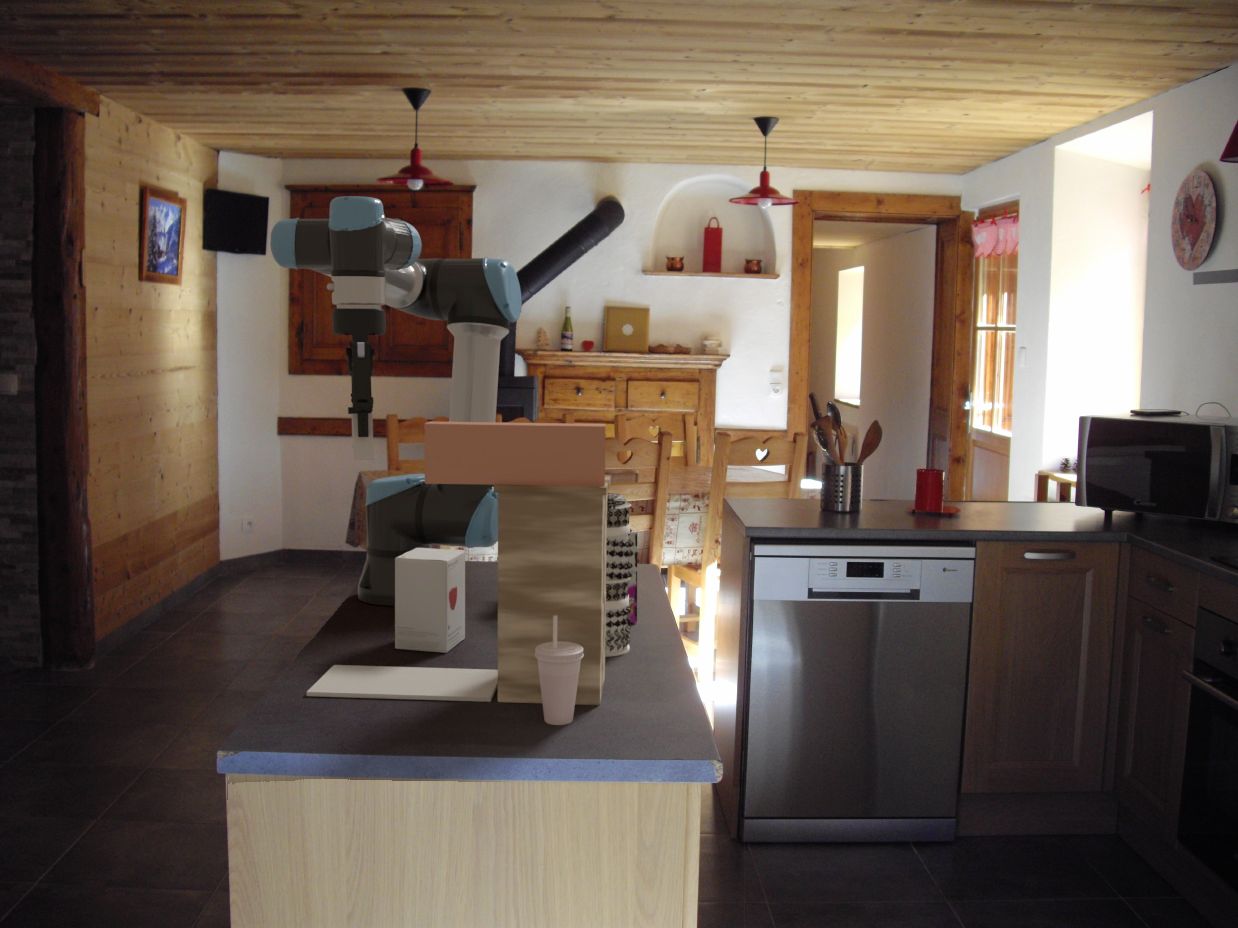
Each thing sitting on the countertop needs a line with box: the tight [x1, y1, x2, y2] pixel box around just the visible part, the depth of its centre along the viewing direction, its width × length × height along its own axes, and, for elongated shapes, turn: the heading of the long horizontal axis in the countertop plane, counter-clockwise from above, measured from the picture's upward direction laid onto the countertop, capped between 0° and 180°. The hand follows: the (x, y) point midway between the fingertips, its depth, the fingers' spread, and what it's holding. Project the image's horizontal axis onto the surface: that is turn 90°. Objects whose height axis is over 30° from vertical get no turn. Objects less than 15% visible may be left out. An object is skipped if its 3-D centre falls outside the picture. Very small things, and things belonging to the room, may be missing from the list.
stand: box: [494, 474, 612, 706], centre depth 147 cm, size 13×15×30 cm
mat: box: [306, 664, 498, 703], centre depth 150 cm, size 12×26×1 cm, turn 87°
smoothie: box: [535, 615, 584, 726], centre depth 136 cm, size 6×6×14 cm
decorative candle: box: [605, 492, 634, 658], centre depth 167 cm, size 9×9×25 cm
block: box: [423, 420, 606, 486], centre depth 141 cm, size 4×24×8 cm, turn 91°
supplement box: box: [394, 547, 466, 654], centre depth 169 cm, size 9×9×15 cm
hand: (362, 453), depth 154 cm, fingers open, 13 cm apart
